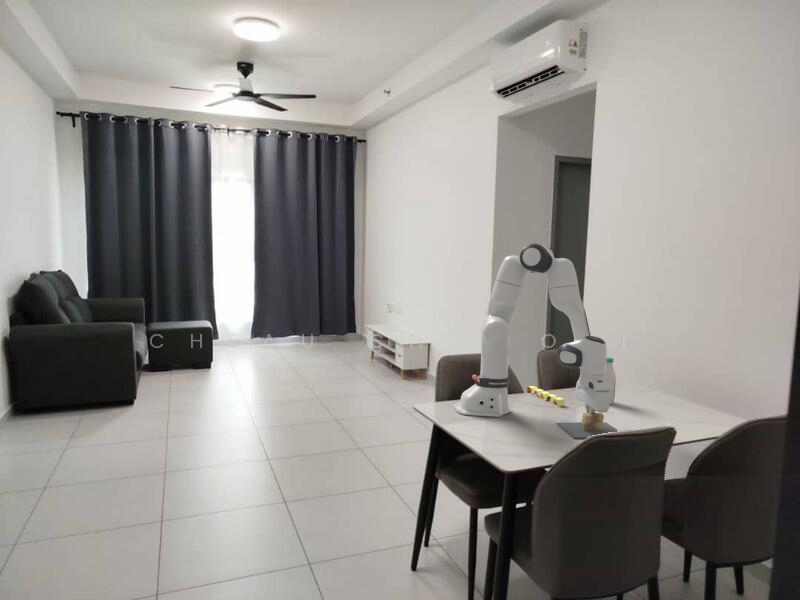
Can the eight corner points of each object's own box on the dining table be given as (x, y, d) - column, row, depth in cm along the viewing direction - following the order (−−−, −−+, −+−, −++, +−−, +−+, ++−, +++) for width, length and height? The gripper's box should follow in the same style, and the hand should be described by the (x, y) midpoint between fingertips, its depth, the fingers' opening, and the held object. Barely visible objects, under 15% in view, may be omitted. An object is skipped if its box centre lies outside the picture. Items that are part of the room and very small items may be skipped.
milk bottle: (612, 405, 236) (615, 360, 234) (593, 402, 240) (596, 357, 238) (615, 401, 243) (618, 357, 241) (597, 398, 247) (600, 355, 245)
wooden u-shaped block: (583, 430, 201) (585, 415, 199) (580, 427, 203) (583, 412, 201) (601, 430, 201) (603, 415, 200) (598, 427, 203) (601, 412, 202)
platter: (550, 389, 263) (550, 382, 263) (596, 408, 233) (596, 400, 233) (492, 393, 252) (492, 386, 251) (532, 414, 222) (533, 406, 221)
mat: (574, 438, 193) (574, 437, 193) (556, 424, 209) (556, 422, 209) (627, 438, 195) (627, 436, 195) (606, 423, 211) (606, 422, 211)
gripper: (572, 373, 212) (570, 408, 213) (597, 387, 192) (594, 425, 193) (587, 373, 213) (585, 408, 214) (614, 387, 193) (611, 425, 194)
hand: (590, 417), depth 204 cm, fingers closed
